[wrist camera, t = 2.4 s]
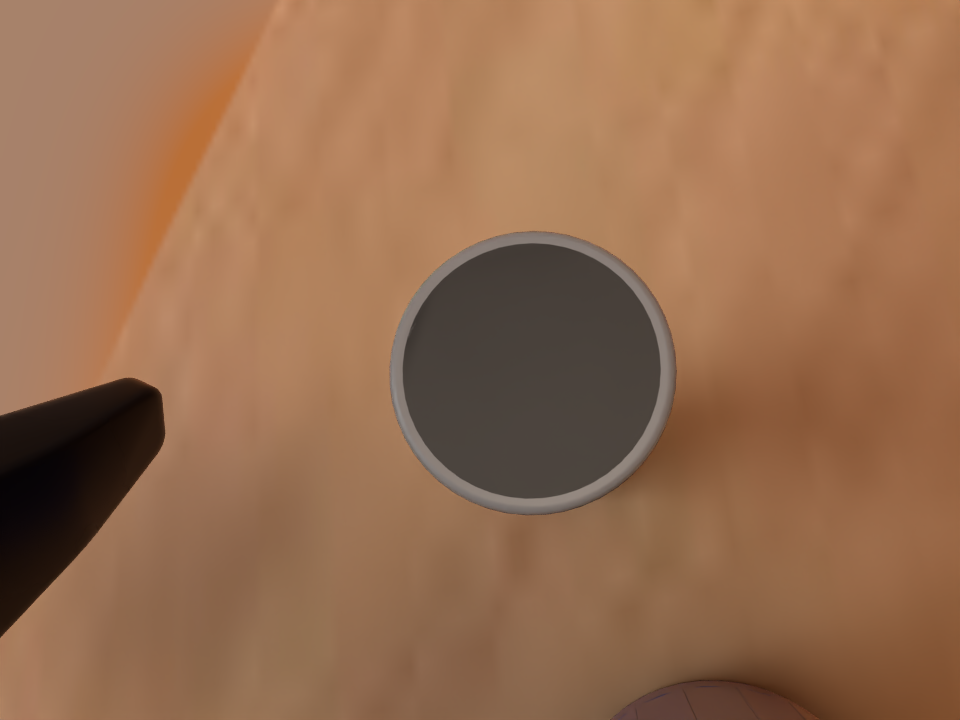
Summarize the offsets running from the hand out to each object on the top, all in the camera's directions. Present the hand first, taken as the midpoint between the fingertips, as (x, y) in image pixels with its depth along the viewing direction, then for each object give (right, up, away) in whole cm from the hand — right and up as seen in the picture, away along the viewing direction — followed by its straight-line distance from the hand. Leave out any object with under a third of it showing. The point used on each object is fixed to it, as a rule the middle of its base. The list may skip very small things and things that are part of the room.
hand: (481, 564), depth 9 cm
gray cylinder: (+2, 0, +9) cm, 10 cm away
